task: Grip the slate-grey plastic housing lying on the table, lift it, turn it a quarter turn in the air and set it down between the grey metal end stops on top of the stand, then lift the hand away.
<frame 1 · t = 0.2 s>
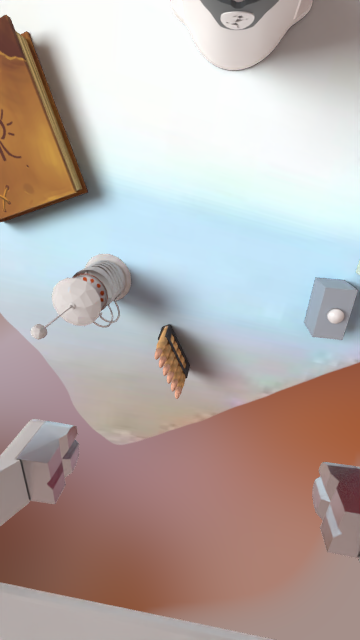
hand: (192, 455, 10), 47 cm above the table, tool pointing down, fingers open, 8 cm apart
french press: (110, 281, 59), on the table
ammunition clip: (176, 346, 63), on the table
diary: (16, 139, 51), on the table
housing: (323, 302, 55), on the table
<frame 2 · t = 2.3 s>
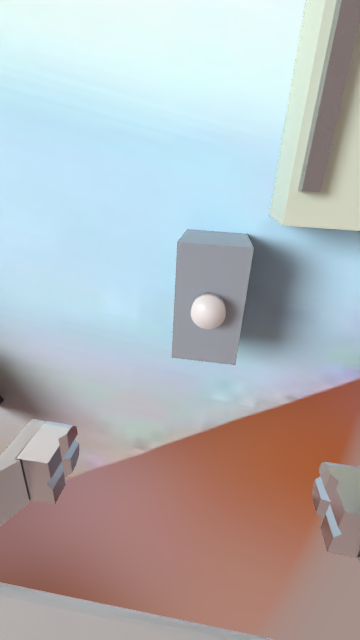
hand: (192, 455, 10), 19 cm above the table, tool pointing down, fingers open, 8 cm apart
housing: (211, 283, 27), on the table
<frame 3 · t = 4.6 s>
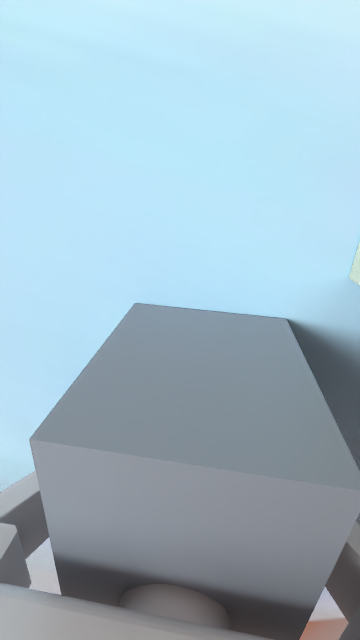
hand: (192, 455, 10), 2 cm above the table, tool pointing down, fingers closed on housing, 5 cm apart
housing: (197, 416, 12), on the table, touching gripper
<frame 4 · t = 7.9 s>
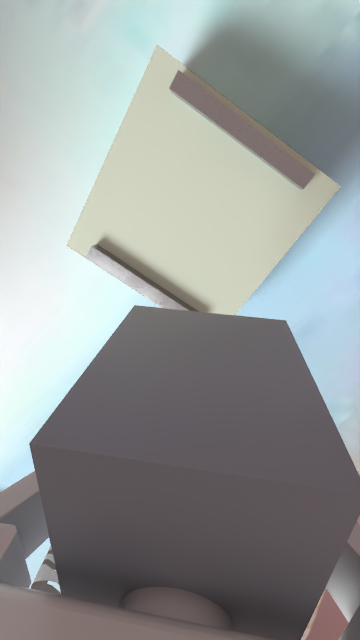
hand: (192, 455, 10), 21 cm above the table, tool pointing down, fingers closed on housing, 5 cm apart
stand: (197, 212, 26), on the table
french press: (87, 534, 49), on the table
housing: (197, 418, 12), point 19 cm above the table, touching gripper
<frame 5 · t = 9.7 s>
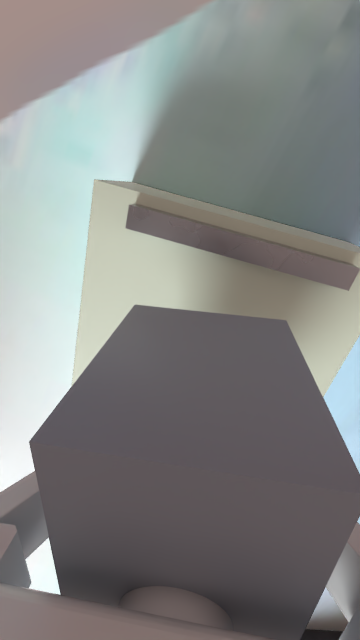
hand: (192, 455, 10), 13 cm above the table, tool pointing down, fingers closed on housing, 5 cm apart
stand: (207, 311, 21), on the table
ammunition clip: (321, 631, 37), on the table
housing: (197, 417, 12), point 11 cm above the table, touching gripper
when the fingers open (9 cm above the table, at t = 11.1 s): housing drops 1 cm, resting on stand.
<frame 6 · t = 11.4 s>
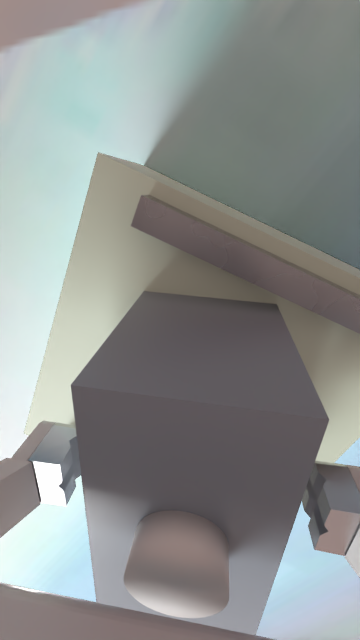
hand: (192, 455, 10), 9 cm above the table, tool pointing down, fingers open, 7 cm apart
stand: (207, 331, 18), on the table
housing: (198, 393, 13), point 6 cm above the table, touching stand
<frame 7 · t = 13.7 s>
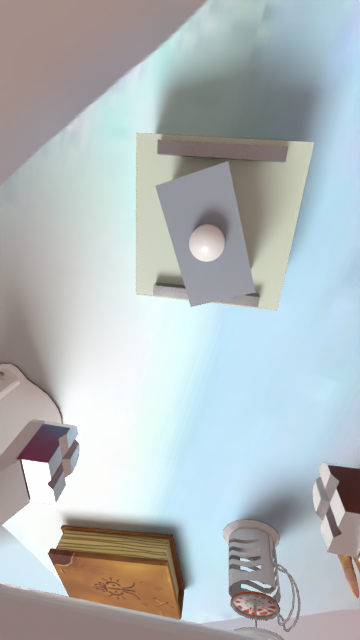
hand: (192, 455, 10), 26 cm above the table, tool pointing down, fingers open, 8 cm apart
stand: (215, 221, 32), on the table
french press: (255, 535, 52), on the table
ammunition clip: (357, 496, 45), on the table
diary: (125, 555, 62), on the table
housing: (212, 230, 26), point 6 cm above the table, touching stand
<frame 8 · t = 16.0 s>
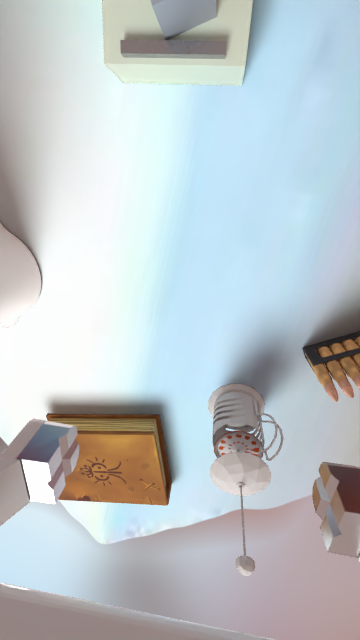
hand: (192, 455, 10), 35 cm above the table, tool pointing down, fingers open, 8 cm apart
stand: (184, 3, 32), on the table
french press: (240, 403, 52), on the table
ammunition clip: (339, 341, 45), on the table
diary: (112, 447, 61), on the table
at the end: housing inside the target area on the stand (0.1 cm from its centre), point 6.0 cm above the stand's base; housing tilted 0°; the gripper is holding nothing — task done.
